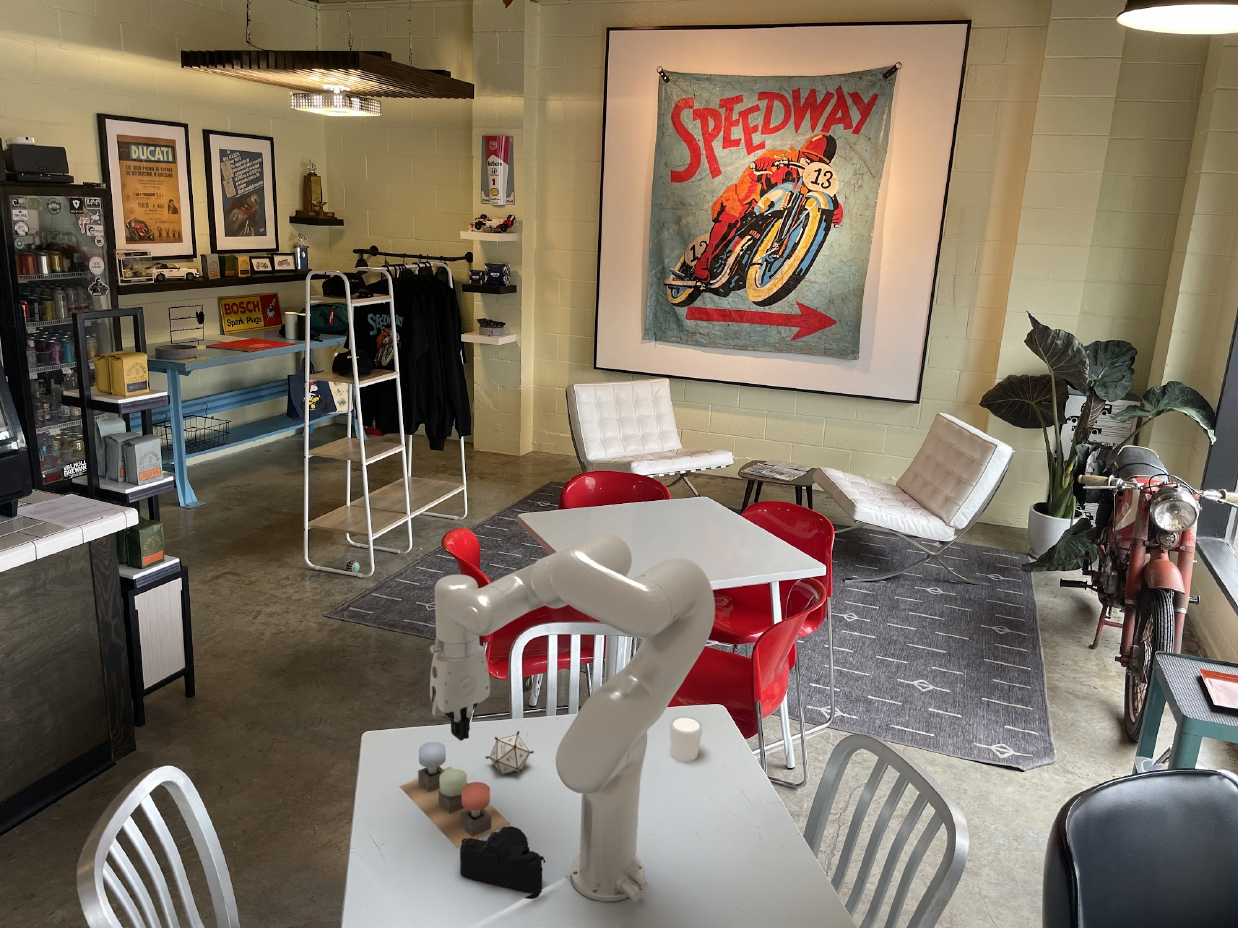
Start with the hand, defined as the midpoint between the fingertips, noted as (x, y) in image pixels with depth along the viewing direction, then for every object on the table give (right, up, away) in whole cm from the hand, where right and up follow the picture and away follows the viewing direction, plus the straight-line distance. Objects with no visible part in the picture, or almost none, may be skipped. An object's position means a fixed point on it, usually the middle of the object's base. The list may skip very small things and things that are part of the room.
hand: (460, 736), depth 170 cm
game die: (+7, -12, +17) cm, 22 cm away
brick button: (+3, -13, -2) cm, 14 cm away
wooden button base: (-2, -15, +4) cm, 16 cm away
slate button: (-7, -10, +9) cm, 15 cm away
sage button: (-2, -13, +4) cm, 14 cm away
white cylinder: (+43, -11, +25) cm, 51 cm away
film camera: (+10, -20, -11) cm, 25 cm away
